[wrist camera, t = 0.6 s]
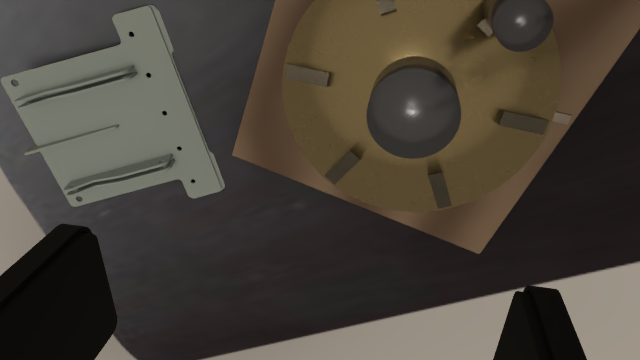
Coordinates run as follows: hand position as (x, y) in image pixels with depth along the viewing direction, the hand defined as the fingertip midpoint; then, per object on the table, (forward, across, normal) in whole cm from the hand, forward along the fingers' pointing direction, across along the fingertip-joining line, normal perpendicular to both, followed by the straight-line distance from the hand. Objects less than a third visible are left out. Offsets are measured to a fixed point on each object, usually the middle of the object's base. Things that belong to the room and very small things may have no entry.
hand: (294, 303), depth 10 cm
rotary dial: (+22, -3, +2) cm, 22 cm away
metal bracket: (+25, +19, +7) cm, 32 cm away
